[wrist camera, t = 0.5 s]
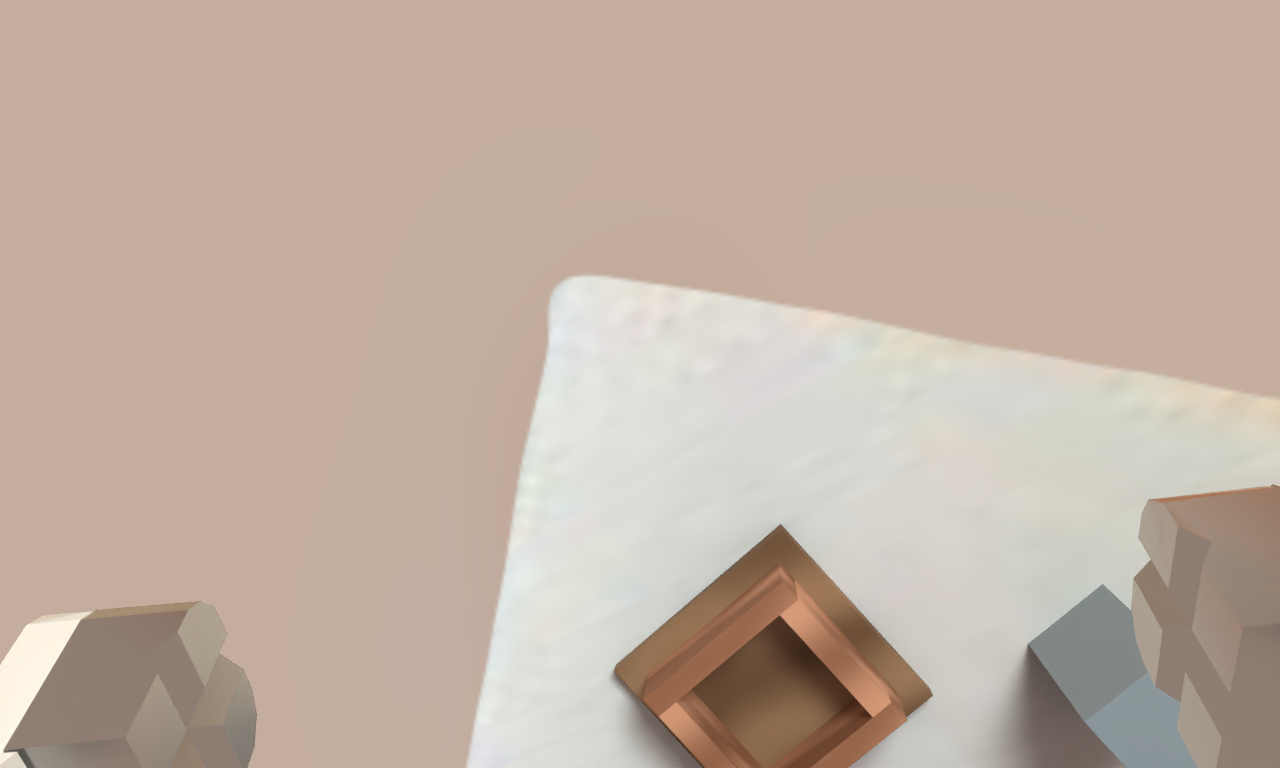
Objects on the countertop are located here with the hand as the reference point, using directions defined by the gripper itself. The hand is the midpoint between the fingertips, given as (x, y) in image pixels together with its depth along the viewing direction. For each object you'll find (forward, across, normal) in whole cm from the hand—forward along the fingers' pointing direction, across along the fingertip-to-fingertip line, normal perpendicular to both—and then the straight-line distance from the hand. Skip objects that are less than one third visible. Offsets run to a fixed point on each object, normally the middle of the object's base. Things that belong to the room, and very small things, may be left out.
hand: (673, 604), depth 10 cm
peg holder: (+37, +2, -40) cm, 54 cm away
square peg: (+36, +19, -40) cm, 57 cm away
